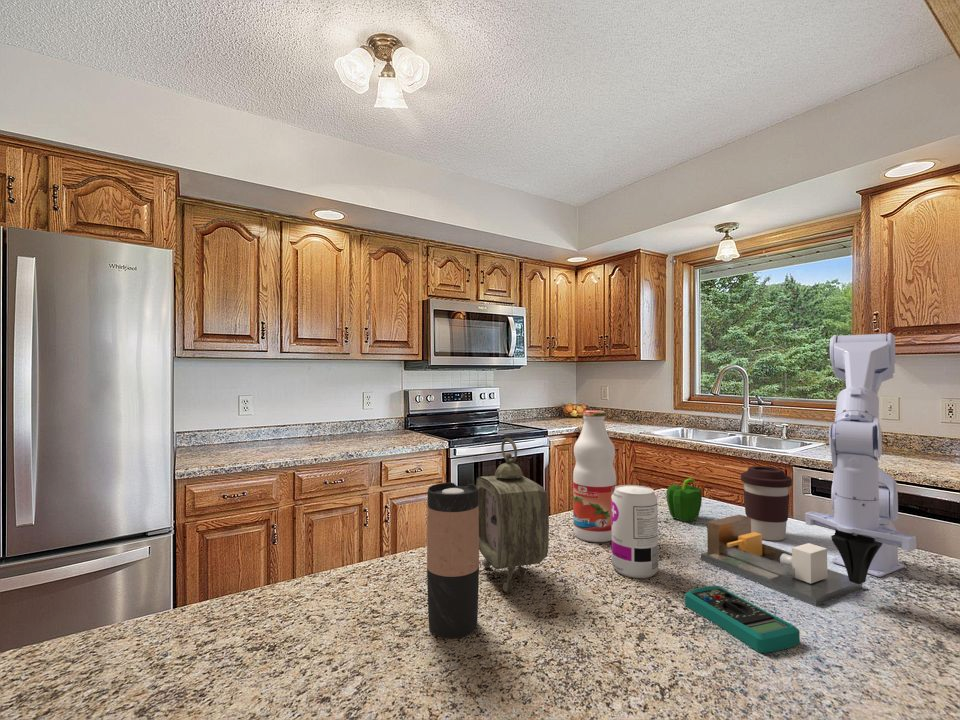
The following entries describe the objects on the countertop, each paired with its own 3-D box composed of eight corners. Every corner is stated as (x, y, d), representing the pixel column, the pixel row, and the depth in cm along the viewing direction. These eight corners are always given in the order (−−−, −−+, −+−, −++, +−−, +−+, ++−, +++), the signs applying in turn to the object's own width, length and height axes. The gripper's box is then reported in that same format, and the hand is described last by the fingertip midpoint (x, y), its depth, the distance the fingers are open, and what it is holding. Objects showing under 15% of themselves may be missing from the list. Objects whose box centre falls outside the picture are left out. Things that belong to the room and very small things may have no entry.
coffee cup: (803, 543, 104) (802, 473, 104) (756, 543, 104) (755, 473, 105) (775, 528, 114) (774, 464, 114) (733, 528, 114) (732, 464, 114)
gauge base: (862, 587, 83) (861, 545, 83) (816, 606, 77) (815, 560, 77) (746, 547, 102) (745, 513, 102) (700, 560, 95) (700, 523, 96)
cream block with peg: (827, 577, 84) (827, 548, 84) (810, 583, 82) (810, 553, 82) (791, 565, 89) (791, 537, 89) (775, 570, 87) (774, 542, 87)
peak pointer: (762, 555, 94) (762, 534, 94) (732, 563, 90) (731, 542, 90) (754, 552, 96) (754, 532, 96) (724, 561, 91) (724, 539, 91)
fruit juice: (625, 537, 108) (624, 411, 109) (597, 546, 103) (596, 413, 103) (592, 526, 116) (591, 408, 116) (564, 534, 110) (564, 410, 111)
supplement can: (609, 575, 88) (608, 492, 89) (614, 559, 96) (614, 482, 96) (657, 582, 85) (656, 496, 86) (658, 565, 93) (658, 486, 93)
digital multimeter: (717, 599, 80) (717, 581, 80) (803, 648, 66) (802, 626, 66) (681, 606, 78) (680, 588, 78) (761, 659, 64) (761, 636, 64)
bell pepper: (670, 523, 118) (670, 482, 118) (663, 513, 126) (663, 474, 126) (707, 525, 117) (706, 483, 117) (697, 515, 125) (697, 475, 125)
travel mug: (439, 645, 66) (439, 497, 66) (419, 619, 73) (419, 485, 73) (488, 631, 70) (488, 490, 70) (465, 608, 76) (465, 480, 77)
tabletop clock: (475, 565, 93) (474, 434, 93) (518, 559, 96) (518, 432, 96) (501, 599, 79) (501, 445, 80) (552, 591, 82) (551, 442, 83)
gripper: (794, 489, 83) (795, 569, 82) (899, 511, 70) (900, 606, 70) (817, 484, 86) (819, 562, 86) (922, 504, 73) (923, 596, 73)
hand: (857, 581), depth 78 cm, fingers closed
